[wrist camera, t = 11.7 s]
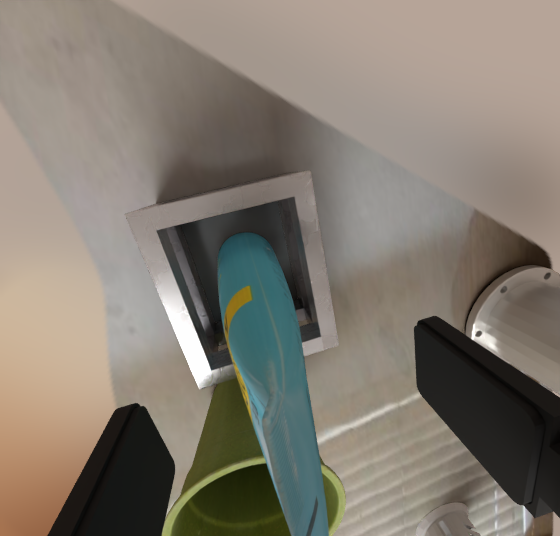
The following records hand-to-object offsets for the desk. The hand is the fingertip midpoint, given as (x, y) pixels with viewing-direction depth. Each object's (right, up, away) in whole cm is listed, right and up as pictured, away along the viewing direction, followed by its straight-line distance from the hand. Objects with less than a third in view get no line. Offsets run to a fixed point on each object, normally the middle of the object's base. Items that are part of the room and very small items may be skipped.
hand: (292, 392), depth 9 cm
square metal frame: (-4, +5, +14) cm, 15 cm away
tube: (-3, +5, +14) cm, 15 cm away
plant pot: (-4, -9, +19) cm, 21 cm away
